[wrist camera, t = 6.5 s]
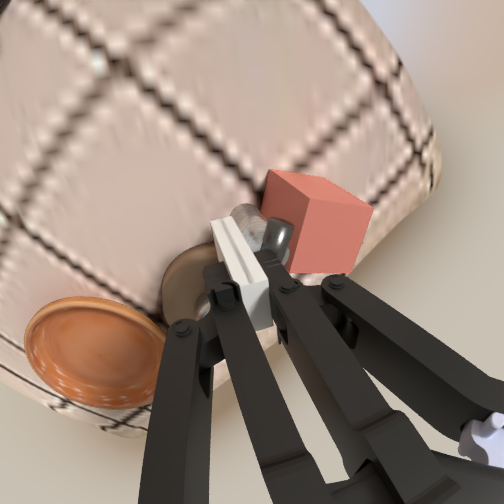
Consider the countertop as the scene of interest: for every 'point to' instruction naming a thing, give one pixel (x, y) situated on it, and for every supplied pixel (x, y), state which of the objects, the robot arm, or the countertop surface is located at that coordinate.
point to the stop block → (317, 221)
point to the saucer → (96, 352)
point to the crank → (255, 241)
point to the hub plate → (186, 281)
